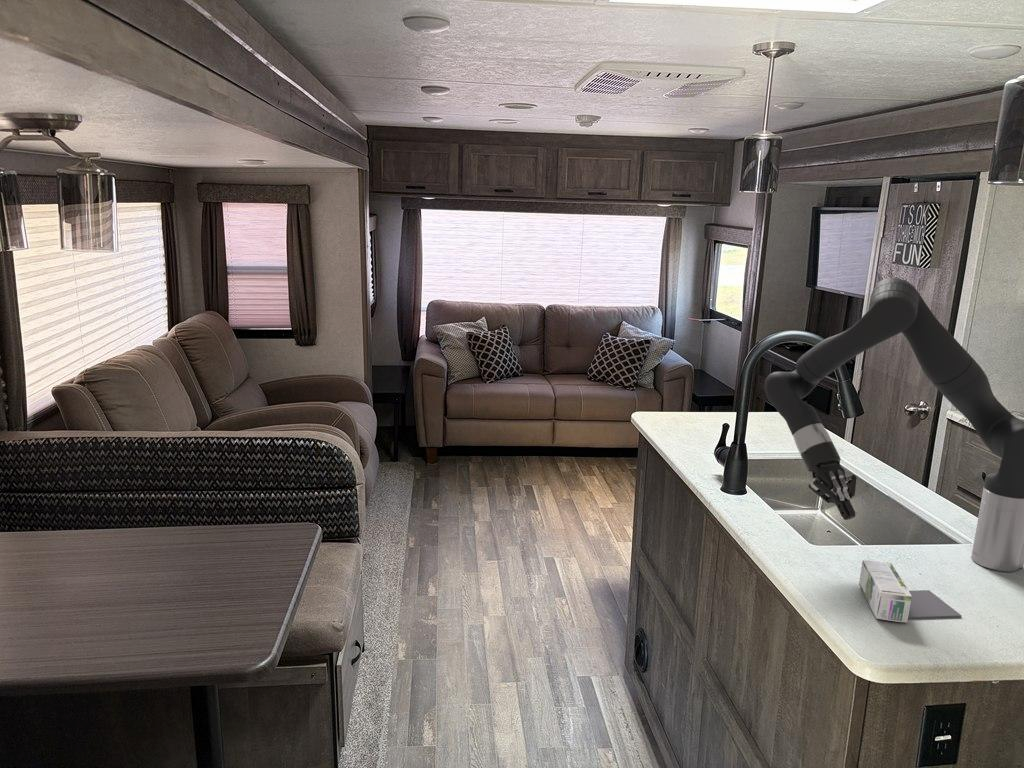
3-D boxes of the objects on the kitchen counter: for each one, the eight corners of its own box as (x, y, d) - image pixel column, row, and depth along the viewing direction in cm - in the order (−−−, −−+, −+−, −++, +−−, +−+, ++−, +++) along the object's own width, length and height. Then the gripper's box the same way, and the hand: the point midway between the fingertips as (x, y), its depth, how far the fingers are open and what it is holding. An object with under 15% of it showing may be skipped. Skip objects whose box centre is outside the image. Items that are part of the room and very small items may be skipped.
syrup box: (887, 587, 158) (909, 624, 144) (857, 584, 159) (876, 620, 145) (891, 562, 157) (914, 596, 143) (861, 559, 158) (881, 592, 144)
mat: (928, 591, 157) (929, 590, 157) (961, 617, 148) (961, 615, 148) (865, 593, 156) (865, 591, 156) (893, 619, 146) (893, 617, 146)
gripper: (826, 452, 179) (860, 521, 172) (784, 457, 174) (816, 528, 166) (848, 437, 174) (884, 508, 166) (804, 442, 168) (839, 515, 160)
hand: (850, 518), depth 166 cm, fingers closed
